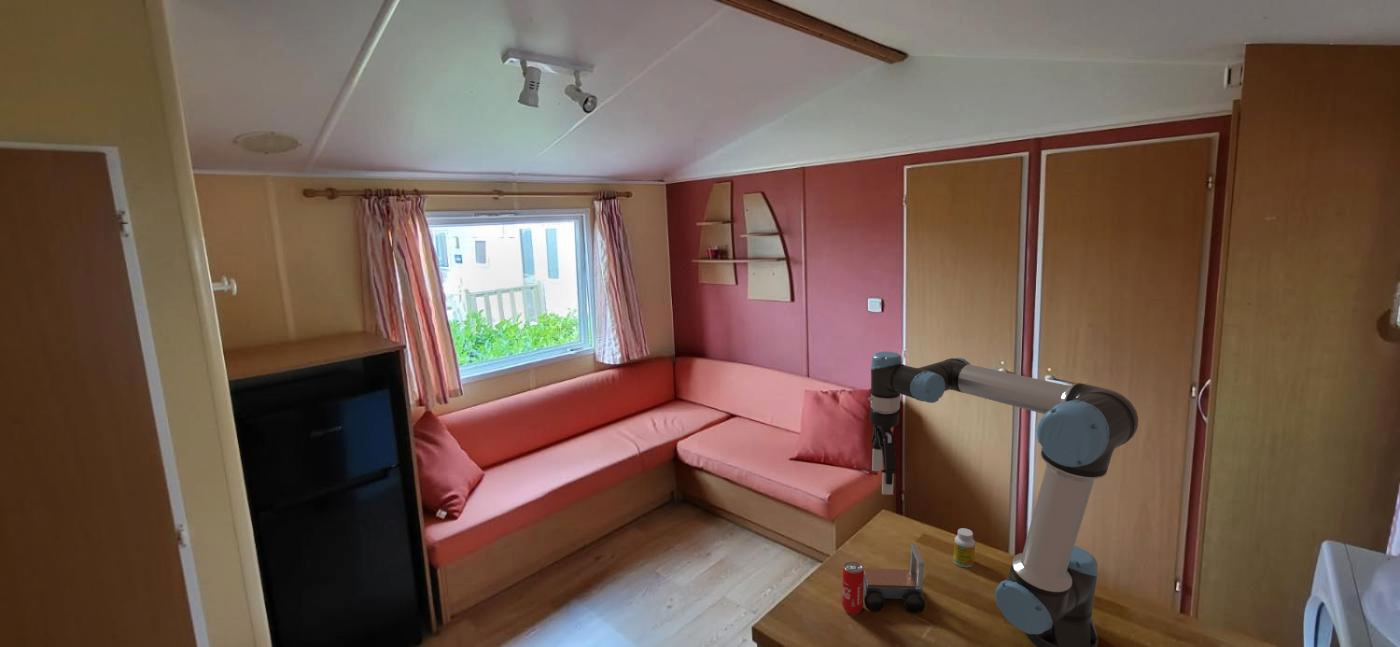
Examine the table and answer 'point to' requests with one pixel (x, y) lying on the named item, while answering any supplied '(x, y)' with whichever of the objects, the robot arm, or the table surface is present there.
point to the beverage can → (852, 587)
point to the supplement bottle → (964, 548)
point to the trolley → (896, 585)
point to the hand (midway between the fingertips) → (882, 481)
